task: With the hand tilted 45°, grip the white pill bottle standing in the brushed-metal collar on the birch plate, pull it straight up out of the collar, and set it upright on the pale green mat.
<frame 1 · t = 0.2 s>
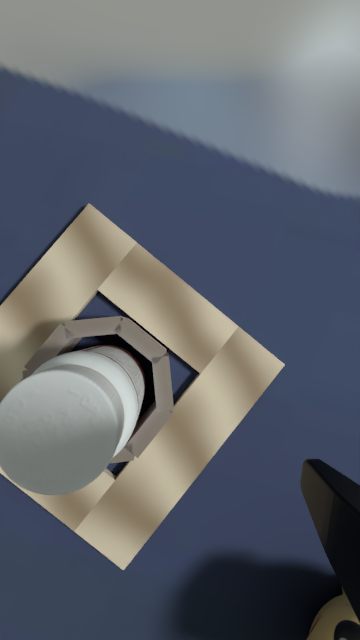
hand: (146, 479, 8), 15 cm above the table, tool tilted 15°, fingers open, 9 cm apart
collar plate: (107, 382, 23), on the table
pill bottle: (108, 382, 23), resting in collar plate
beige toy figure: (333, 612, 24), on the table
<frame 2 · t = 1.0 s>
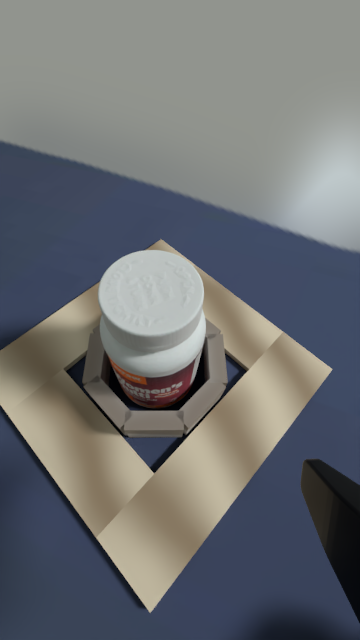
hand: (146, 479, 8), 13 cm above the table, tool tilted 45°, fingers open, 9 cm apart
collar plate: (157, 371, 24), on the table
pill bottle: (157, 372, 24), resting in collar plate
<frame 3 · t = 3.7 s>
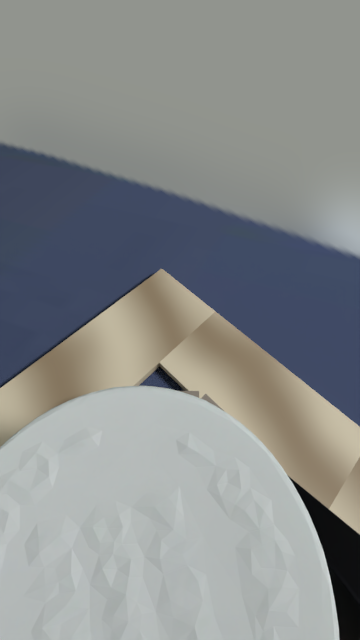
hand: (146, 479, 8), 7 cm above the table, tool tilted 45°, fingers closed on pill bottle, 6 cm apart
collar plate: (155, 520, 13), on the table
pill bottle: (155, 520, 13), resting in collar plate, touching gripper
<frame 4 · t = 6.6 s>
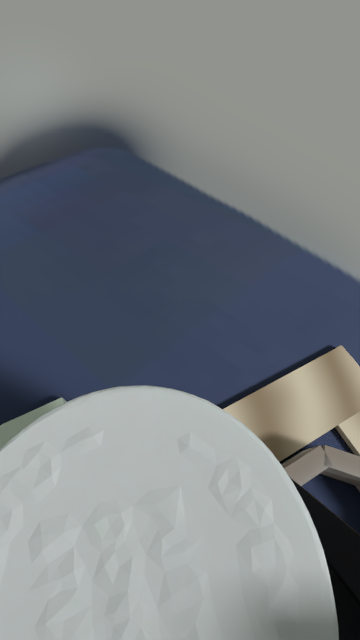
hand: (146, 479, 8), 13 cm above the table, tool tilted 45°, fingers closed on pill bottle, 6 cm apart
collar plate: (328, 543, 18), on the table
pill bottle: (157, 518, 13), point 6 cm above the table, touching gripper
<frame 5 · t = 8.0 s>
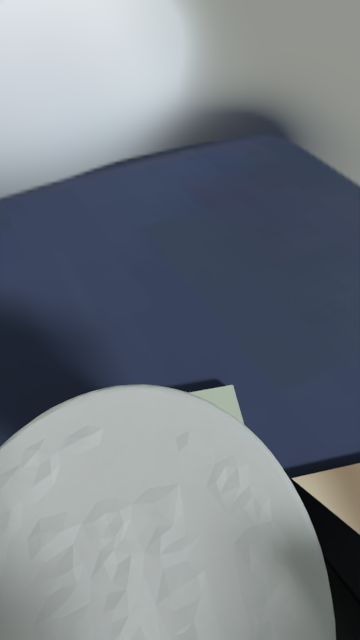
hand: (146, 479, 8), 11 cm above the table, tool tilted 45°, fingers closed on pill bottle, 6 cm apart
pill bottle: (155, 518, 13), point 4 cm above the table, touching gripper
green mat: (158, 507, 17), on the table
when the fingers open (9 cm above the table, at t = 9.3 s): pill bottle drops 1 cm, resting on green mat.
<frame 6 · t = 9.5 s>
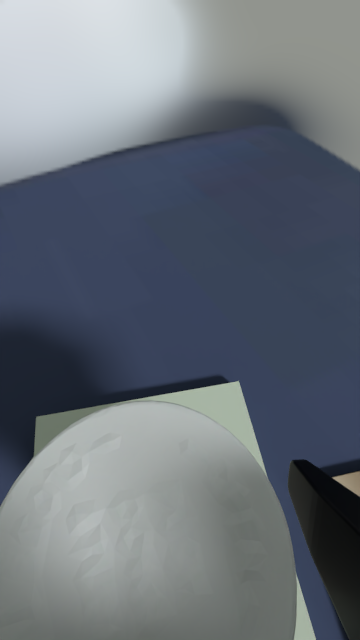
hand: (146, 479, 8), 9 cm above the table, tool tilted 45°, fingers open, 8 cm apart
pill bottle: (156, 522, 14), point 1 cm above the table, touching green mat
green mat: (157, 516, 15), on the table
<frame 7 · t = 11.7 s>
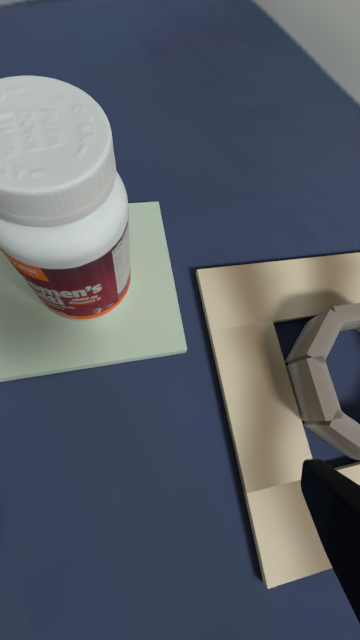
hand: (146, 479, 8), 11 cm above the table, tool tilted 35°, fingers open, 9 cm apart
collar plate: (353, 380, 22), on the table
pill bottle: (86, 282, 20), point 1 cm above the table, touching green mat
green mat: (88, 284, 21), on the table
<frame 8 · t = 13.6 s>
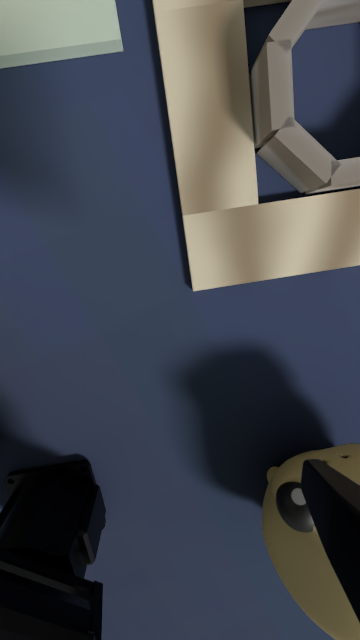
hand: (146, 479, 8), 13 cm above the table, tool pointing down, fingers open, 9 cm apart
collar plate: (333, 101, 18), on the table
beige toy figure: (301, 464, 24), on the table
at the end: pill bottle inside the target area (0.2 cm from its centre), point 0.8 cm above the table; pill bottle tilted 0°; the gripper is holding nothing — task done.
